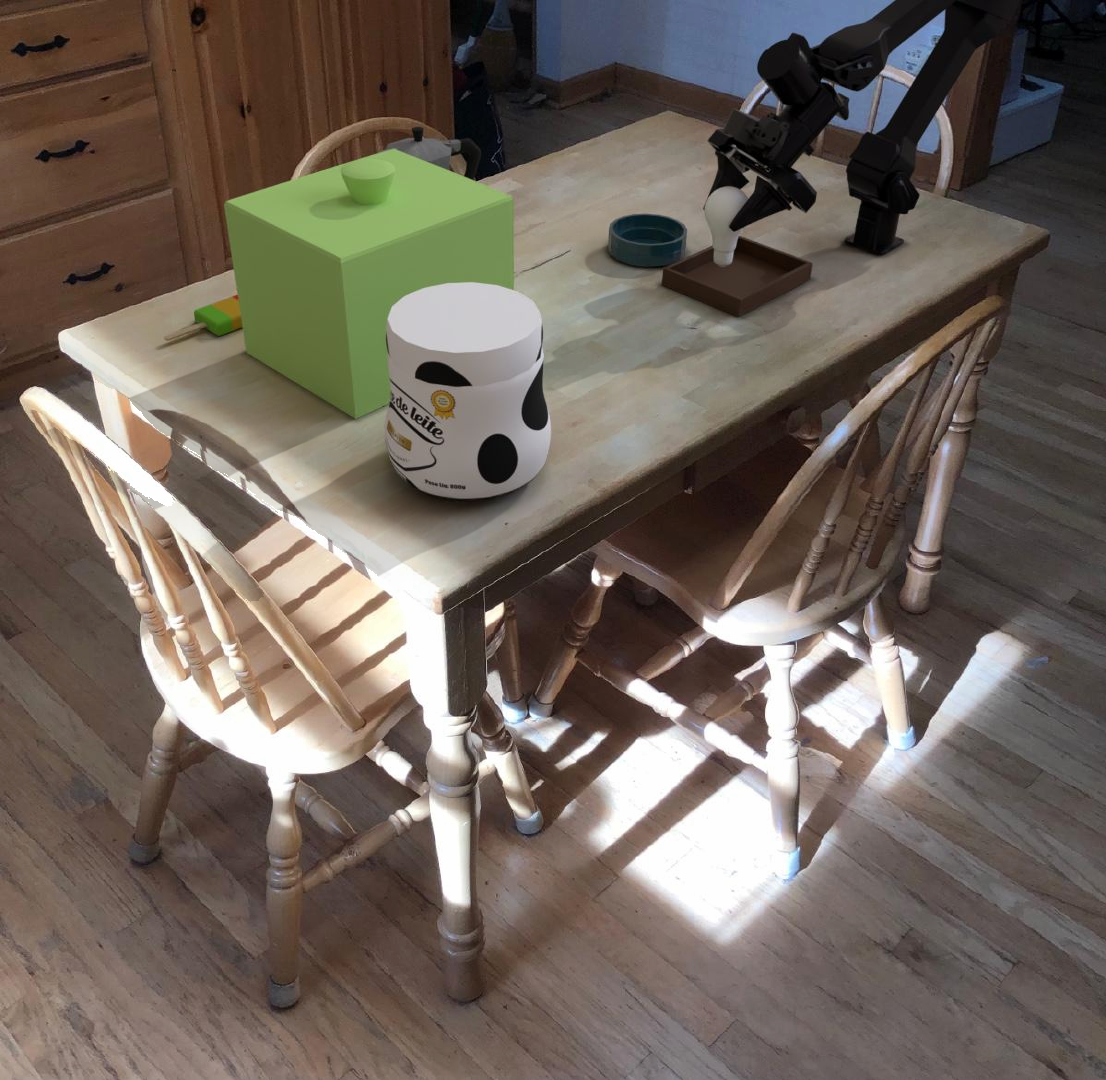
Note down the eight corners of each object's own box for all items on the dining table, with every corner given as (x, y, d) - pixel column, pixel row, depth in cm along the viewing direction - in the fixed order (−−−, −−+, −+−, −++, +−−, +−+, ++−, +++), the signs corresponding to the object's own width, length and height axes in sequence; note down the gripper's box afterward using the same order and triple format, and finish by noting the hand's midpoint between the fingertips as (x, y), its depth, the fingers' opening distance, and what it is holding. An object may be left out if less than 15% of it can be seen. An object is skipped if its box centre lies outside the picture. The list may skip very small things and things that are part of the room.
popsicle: (280, 314, 158) (278, 300, 157) (178, 353, 149) (175, 339, 148) (255, 300, 161) (253, 287, 160) (154, 338, 152) (151, 324, 151)
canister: (403, 289, 164) (392, 117, 150) (514, 344, 152) (513, 163, 138) (246, 352, 150) (218, 168, 136) (355, 419, 138) (337, 224, 124)
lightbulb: (726, 280, 163) (734, 201, 156) (690, 266, 166) (696, 188, 159) (753, 266, 166) (762, 188, 159) (718, 252, 169) (725, 175, 163)
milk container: (359, 494, 126) (343, 339, 115) (429, 413, 139) (421, 266, 128) (515, 531, 122) (514, 373, 111) (572, 443, 135) (577, 293, 124)
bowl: (642, 230, 181) (644, 207, 179) (700, 252, 175) (702, 229, 173) (592, 251, 175) (593, 228, 173) (650, 275, 169) (652, 252, 167)
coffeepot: (388, 274, 168) (379, 144, 157) (369, 247, 175) (359, 121, 164) (493, 257, 173) (492, 130, 162) (471, 232, 179) (468, 108, 169)
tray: (734, 250, 176) (736, 234, 174) (810, 279, 169) (813, 262, 167) (661, 285, 167) (662, 267, 165) (738, 317, 159) (740, 299, 158)
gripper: (726, 65, 160) (648, 161, 162) (809, 108, 146) (722, 212, 149) (770, 117, 167) (694, 208, 170) (853, 163, 154) (769, 260, 157)
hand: (717, 220), depth 161 cm, fingers closed on lightbulb, 6 cm apart
